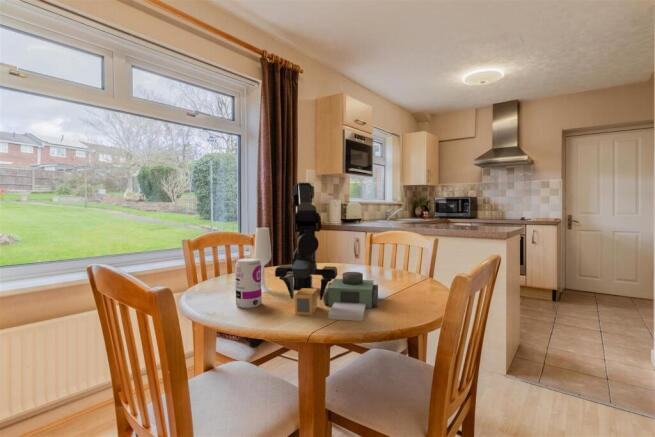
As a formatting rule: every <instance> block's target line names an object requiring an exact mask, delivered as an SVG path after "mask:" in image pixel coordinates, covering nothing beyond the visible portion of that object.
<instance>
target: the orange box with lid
mask: <svg viewBox="0 0 655 437" xmlns="http://www.w3.org/2000/svg"><path fill="white" fill-rule="evenodd" d="M294 295H295V296H294V302H295V304H294V308H295V309H294V310H295V311H294V312H295V315H304V316H305V315H306V316H312V315H313V314H314V312H315V311H316V309H317V308H318V289H317V288H302V289H301V290H298V291H297V292H296V293H295V294H294Z"/></svg>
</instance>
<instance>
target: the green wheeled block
mask: <svg viewBox="0 0 655 437" xmlns="http://www.w3.org/2000/svg"><path fill="white" fill-rule="evenodd" d="M327 286H328V287H326V288H325V291H324V294H323V303H324V305H326V304H327V305H328V306H329V307H331V308H330V310H329V311H328V313H327V314H328V315H327V317H328V318H327V319H328V320H341V321H357V322H364V317H365V312H366V309H372V308H373V307H376V308H377V307H378V300H379V299H378V298H379V285H378V284H375V283H374V280H373V279H364V274H363V272H360V271H359V272H358V271H346V272H343V273H342V278H335V279H333V280H332V281H331V282H328V284H327Z"/></svg>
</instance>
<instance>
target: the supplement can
mask: <svg viewBox="0 0 655 437" xmlns="http://www.w3.org/2000/svg"><path fill="white" fill-rule="evenodd" d="M234 267H235V268H234V269H235V272H234V273H235V305H236V306H237V307H238V306H239V307H238V308H240V307H241V308H240V309H254V308H257V307H259V306H260V305H261V304H262V300H263V299H262V298H263V297H262V295H263V293H262V287H261V286H262V283H261V263H260V261H259V259H257V258H254V257H244V258H239V259H237V261H236V263H235V266H234Z"/></svg>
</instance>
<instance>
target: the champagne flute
mask: <svg viewBox="0 0 655 437" xmlns="http://www.w3.org/2000/svg"><path fill="white" fill-rule="evenodd" d="M269 228H270V227H256V228H255V235H254V236H255V238H254V248H253V249H254V251H253V252H254V253H253V258H257V259H259V261H260V263H261V287H262V294H265V293H271V292H273V289H271V287H270V288H269V286H266V284H265V272H266V271H265V266H266V265H268V263H269V262H270V261H271V259H272V246H271V245H272V244H271V238H270V237H271V236H270V229H269Z"/></svg>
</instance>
